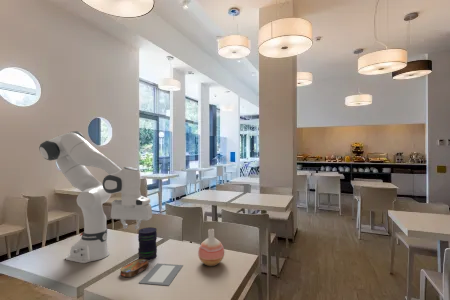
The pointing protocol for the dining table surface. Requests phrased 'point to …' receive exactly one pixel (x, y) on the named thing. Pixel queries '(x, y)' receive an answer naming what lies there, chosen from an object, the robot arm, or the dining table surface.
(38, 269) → the dining table surface
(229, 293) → the dining table surface
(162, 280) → the mat
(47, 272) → the dining table surface
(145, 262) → the tin
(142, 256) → the blue oil drum
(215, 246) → the vase
